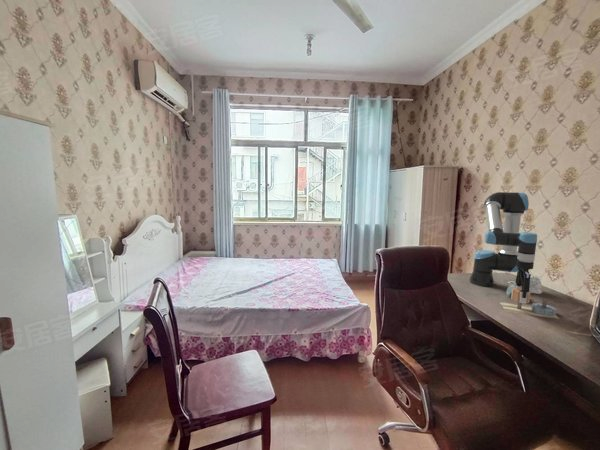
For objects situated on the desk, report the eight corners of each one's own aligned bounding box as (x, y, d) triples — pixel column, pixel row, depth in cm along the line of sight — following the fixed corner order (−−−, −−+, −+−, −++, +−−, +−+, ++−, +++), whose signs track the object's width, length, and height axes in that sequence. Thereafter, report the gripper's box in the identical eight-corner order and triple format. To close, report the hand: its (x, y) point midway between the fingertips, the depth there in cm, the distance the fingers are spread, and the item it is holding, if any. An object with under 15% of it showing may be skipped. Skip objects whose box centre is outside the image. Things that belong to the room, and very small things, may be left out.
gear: (528, 306, 168) (529, 301, 168) (551, 310, 165) (552, 305, 164) (534, 314, 159) (535, 309, 159) (559, 317, 155) (559, 312, 155)
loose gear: (509, 296, 170) (510, 286, 169) (526, 299, 167) (527, 289, 166) (513, 301, 163) (514, 291, 162) (531, 304, 160) (532, 293, 159)
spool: (529, 299, 172) (521, 283, 176) (510, 303, 177) (503, 287, 180) (528, 298, 183) (520, 282, 187) (510, 302, 188) (503, 286, 191)
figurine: (521, 287, 203) (523, 272, 202) (538, 289, 200) (540, 274, 198) (527, 293, 192) (529, 277, 191) (544, 295, 189) (546, 279, 187)
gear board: (499, 303, 175) (500, 290, 174) (549, 310, 166) (551, 297, 165) (505, 312, 163) (506, 299, 162) (559, 320, 154) (561, 306, 152)
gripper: (511, 255, 173) (507, 292, 176) (522, 264, 154) (517, 306, 157) (527, 257, 170) (522, 294, 173) (540, 266, 151) (534, 308, 154)
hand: (520, 300), depth 165 cm, fingers closed on loose gear, 8 cm apart
